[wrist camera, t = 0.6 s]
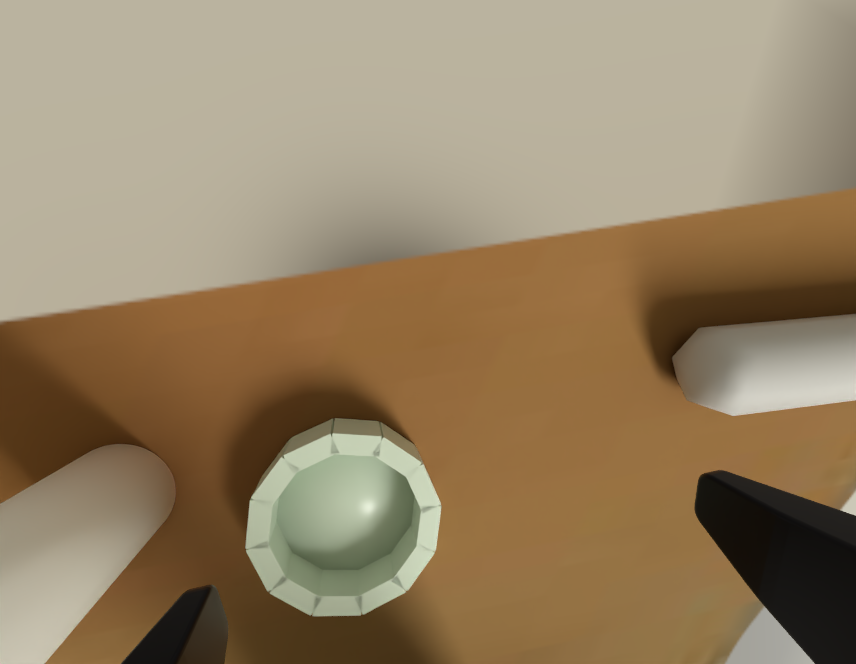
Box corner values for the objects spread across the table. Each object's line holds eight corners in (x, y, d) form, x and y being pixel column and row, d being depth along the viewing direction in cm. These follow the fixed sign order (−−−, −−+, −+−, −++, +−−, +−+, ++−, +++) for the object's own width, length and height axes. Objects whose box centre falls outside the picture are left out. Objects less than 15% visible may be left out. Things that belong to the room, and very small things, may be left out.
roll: (171, 543, 21) (-121, 938, 8) (58, 541, 20) (-476, 984, 7) (180, 446, 21) (-111, 696, 8) (65, 440, 20) (-481, 712, 7)
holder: (419, 581, 23) (427, 614, 21) (251, 581, 22) (238, 617, 19) (439, 425, 23) (449, 440, 20) (268, 413, 21) (256, 428, 19)
